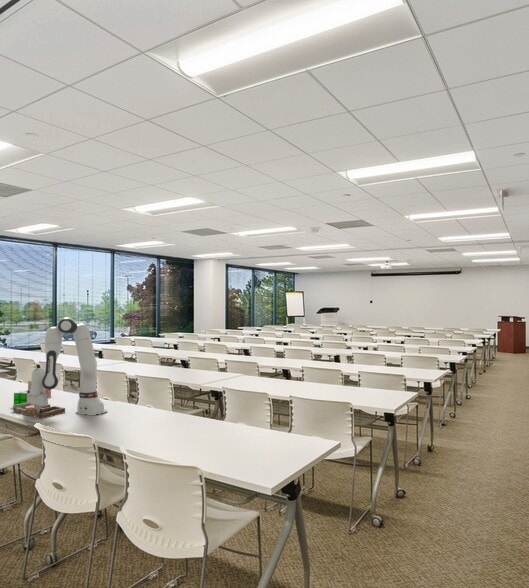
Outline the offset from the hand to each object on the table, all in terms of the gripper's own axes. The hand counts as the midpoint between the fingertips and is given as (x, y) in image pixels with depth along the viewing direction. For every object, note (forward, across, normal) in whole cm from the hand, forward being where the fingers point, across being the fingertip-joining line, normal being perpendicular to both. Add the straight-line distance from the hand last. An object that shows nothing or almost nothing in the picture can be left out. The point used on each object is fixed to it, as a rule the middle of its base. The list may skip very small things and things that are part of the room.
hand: (37, 411), depth 310 cm
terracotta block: (+2, +7, 0) cm, 7 cm away
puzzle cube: (+2, +35, -10) cm, 37 cm away
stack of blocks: (+3, +57, -36) cm, 68 cm away
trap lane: (+2, +5, -5) cm, 7 cm away
